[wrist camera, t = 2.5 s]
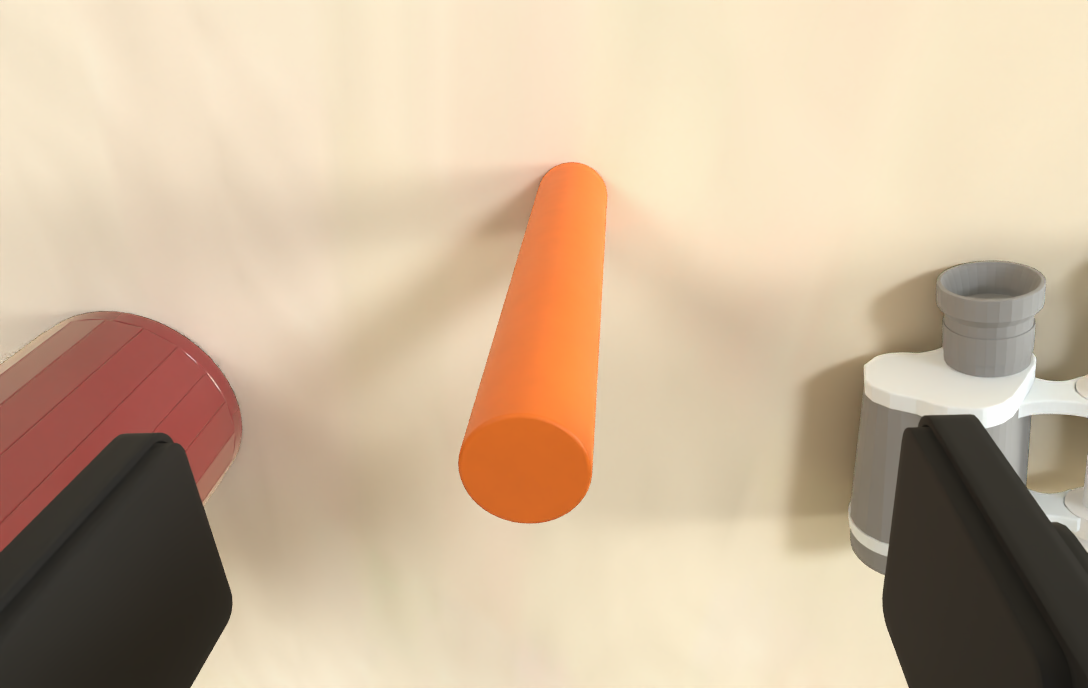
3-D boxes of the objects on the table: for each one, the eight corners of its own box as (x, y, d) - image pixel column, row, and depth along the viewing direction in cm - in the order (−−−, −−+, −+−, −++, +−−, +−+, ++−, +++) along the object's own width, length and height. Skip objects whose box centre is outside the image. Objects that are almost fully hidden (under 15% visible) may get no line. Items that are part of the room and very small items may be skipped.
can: (-4, 315, 25) (-435, 597, 15) (210, 305, 24) (-89, 595, 14) (73, 496, 28) (-241, 833, 18) (265, 493, 27) (52, 842, 17)
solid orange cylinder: (535, 163, 21) (449, 416, 11) (605, 160, 21) (588, 413, 11) (540, 230, 22) (466, 526, 12) (608, 226, 22) (595, 524, 12)
